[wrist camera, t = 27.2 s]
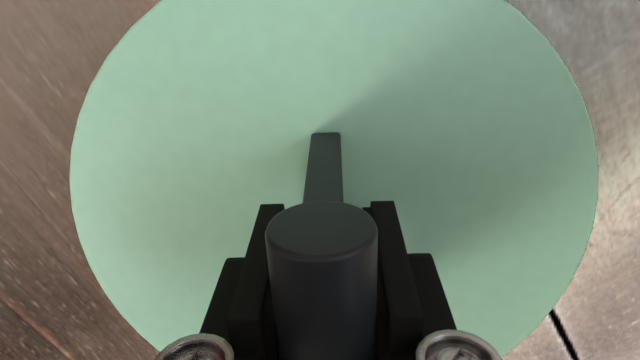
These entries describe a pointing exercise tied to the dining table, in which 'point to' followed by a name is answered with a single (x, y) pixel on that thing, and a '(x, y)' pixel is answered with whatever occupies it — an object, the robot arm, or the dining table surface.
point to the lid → (334, 163)
